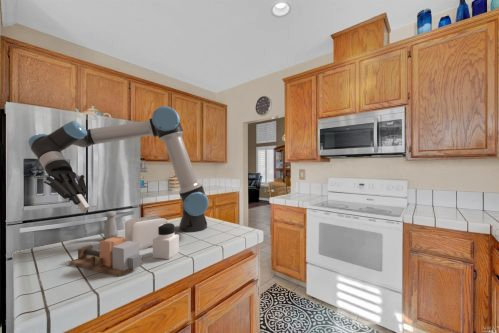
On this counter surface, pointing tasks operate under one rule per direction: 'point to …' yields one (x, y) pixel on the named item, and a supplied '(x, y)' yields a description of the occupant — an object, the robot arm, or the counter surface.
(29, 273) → the counter surface
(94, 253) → the dark grey rod
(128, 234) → the cable organizer
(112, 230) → the salt shaker
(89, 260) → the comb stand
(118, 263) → the block
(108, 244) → the sleeve
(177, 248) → the medicine bottle
